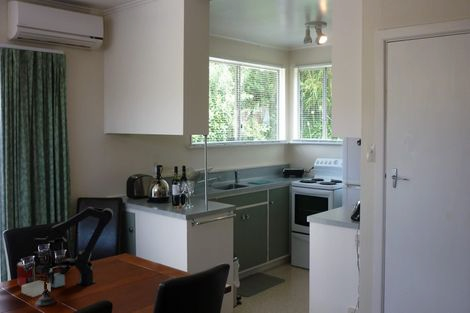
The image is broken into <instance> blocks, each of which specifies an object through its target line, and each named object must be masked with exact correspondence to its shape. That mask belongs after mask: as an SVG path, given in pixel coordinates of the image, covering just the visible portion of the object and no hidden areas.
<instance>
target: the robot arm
mask: <svg viewBox="0 0 470 313" xmlns="http://www.w3.org/2000/svg"><path fill="white" fill-rule="evenodd" d="M89 217H92V218H96V219H98V222H97V225H96V227H95V229H94V231H93V233H92V235H91V237H90V238H89V240H88V242H87V245H86V247H85V248H84V250H79V252H78V254H77V256H76V258H72V257H71V258H70V257H69V258H66V259H65V260H64V259H63V260H64V262H62V263H61V264H57V263H55V255H54V251H58V250H63V249H64V248H63V247H64V246H63V244H64V243H65V244H66V242H67V240H68V239H66V238H65V237H64V236H63V235H64V234H65V233H66V232H67V231H68V230H69V229H71V228H72V227H74V226H76V225H77V224H79V223H80V222H82V221H84V220H86V219H87V218H89ZM113 217H114V211H113V210H112V209H111V208H109V207H105V208H101V207H92V206H87V207H86V208H85V209H84V210H82V211H81V212H79V213H77V214H75V215H74V216H72V217H70V218H69V219H67V220H66V221H62V222H60V223H58V224H57V223H56V224H55V225H53V226H52V227H51V228H50V229H49V230H48V235H47V236H46V237H45V238H38V237H36V238H34V239H33V245H32V253H33V254H34V253H35V254H36V253H38V254H39V252H38V245H42V244H49V252H50V253H48V255H47V256H45V262H46V273H45V274H46V276H47V279H48V280H50V283H51V285H53V283H54V274H55V271H54V269H57V268H59V270H60V274H63V275H65V277H66V276H67V274H68V272H69V270H70V269H71V268H72V267H75V268H76V269H77V270H78V272H79V281H78V282H77V285H80V286H82V287H86V286H90V285H93V284H96V281H95V280H94V271H93V267H94V264H93V263H92V262H91V261H90V260H91V259H90V258H91V256H92V253H93V250H94V248H95V246H96V244H97V243H98V240H99V238H100V237H101V235H102V233H103V231H104V229H105V228H106V226H107V225H108V224H109V223H110V222H111V220H112V219H113ZM61 236H62V237H61ZM60 237H61V238H60ZM63 251H64V250H63ZM39 262H40V264H42V265H38V266H36V267H35V273H38V274H42V275H44V259H43V258H40V259H39Z"/></svg>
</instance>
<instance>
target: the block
mask: <svg viewBox="0 0 470 313" xmlns="http://www.w3.org/2000/svg"><path fill="white" fill-rule="evenodd" d="M48 280H49V279H48ZM65 281H66V276H65V275H63V274H61V272H57V273H54V283H53V285H51V288H59V287H62V286H63V287H64V286H65V284H66V283H65ZM48 283H50V280H49V281H48ZM50 284H51V283H50Z"/></svg>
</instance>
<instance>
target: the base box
mask: <svg viewBox="0 0 470 313" xmlns="http://www.w3.org/2000/svg"><path fill="white" fill-rule="evenodd" d="M44 282H46V281H43V280H40V279H39V280H35V282H31V283H28V284H25V285H21V287H20V288H21V294H22V293H23V295H25V294H26V296H29V297H32V298H34V297H37V296H40V295H43V294H42V293H43V291H44ZM46 284H47V289H48V291H49V292H51V288H52V286H51V284H50V283H49V282H48V281H47V282H46ZM49 292H48V293H49Z"/></svg>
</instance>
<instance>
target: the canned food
mask: <svg viewBox="0 0 470 313" xmlns="http://www.w3.org/2000/svg"><path fill="white" fill-rule="evenodd" d="M22 262H23V261H19V262H18V263H17V264H16V268H17V269H16V270H17V286H18V287H19V288H22V287H21V285H25V284H28V283H31V282H35V281H36V266H35V264H36V262H35V261H34V267H33V269H31V270H30V271H25V270H24V269H23V264H22Z"/></svg>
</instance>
